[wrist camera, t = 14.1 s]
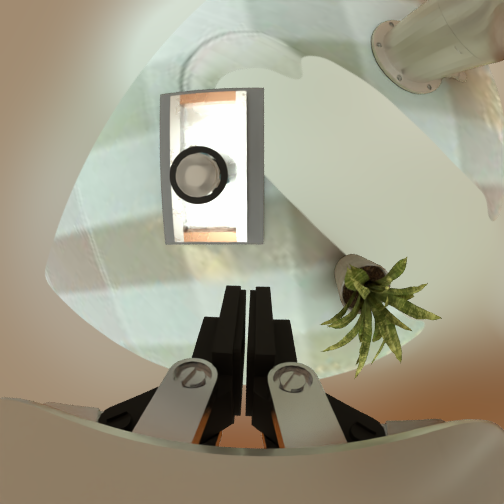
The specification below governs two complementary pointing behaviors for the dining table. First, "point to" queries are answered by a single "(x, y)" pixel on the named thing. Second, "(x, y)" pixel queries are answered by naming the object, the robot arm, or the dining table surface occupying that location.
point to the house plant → (372, 304)
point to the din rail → (226, 144)
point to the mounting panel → (253, 165)
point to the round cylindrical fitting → (198, 175)
